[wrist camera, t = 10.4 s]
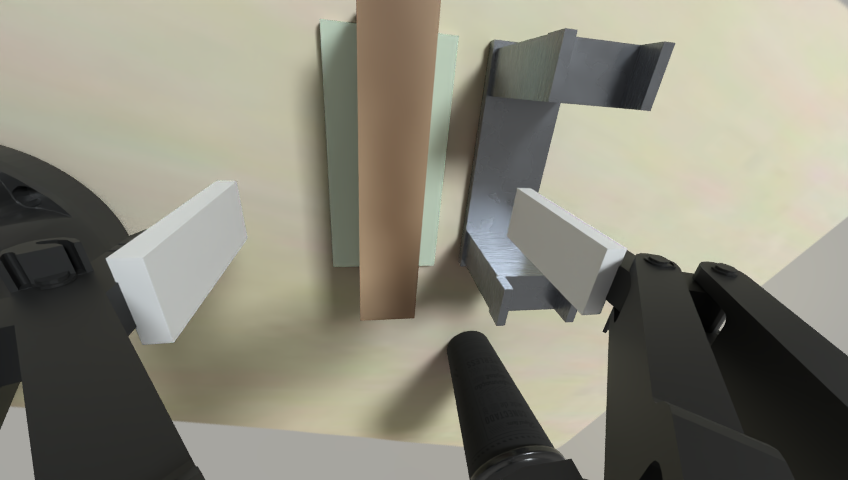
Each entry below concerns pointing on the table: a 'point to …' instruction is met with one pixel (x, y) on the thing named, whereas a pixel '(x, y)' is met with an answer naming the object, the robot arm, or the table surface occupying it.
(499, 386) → the drinking cup
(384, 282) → the rail
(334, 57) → the mat
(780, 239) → the table surface
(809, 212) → the table surface
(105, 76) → the table surface
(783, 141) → the table surface
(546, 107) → the rack
